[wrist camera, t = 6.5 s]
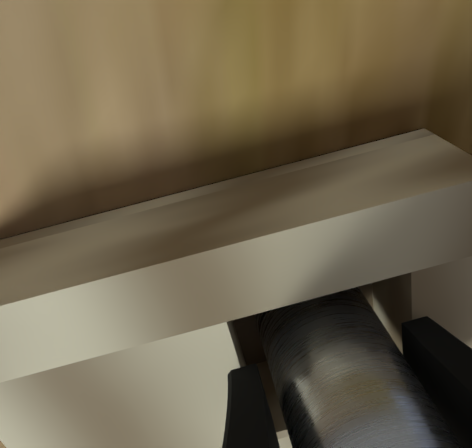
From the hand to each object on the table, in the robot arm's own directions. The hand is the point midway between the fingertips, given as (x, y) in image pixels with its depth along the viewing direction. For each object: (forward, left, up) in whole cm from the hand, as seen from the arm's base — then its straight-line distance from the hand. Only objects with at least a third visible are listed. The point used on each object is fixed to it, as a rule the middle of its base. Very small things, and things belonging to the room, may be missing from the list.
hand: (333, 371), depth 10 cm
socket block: (+2, +2, -3) cm, 4 cm away
